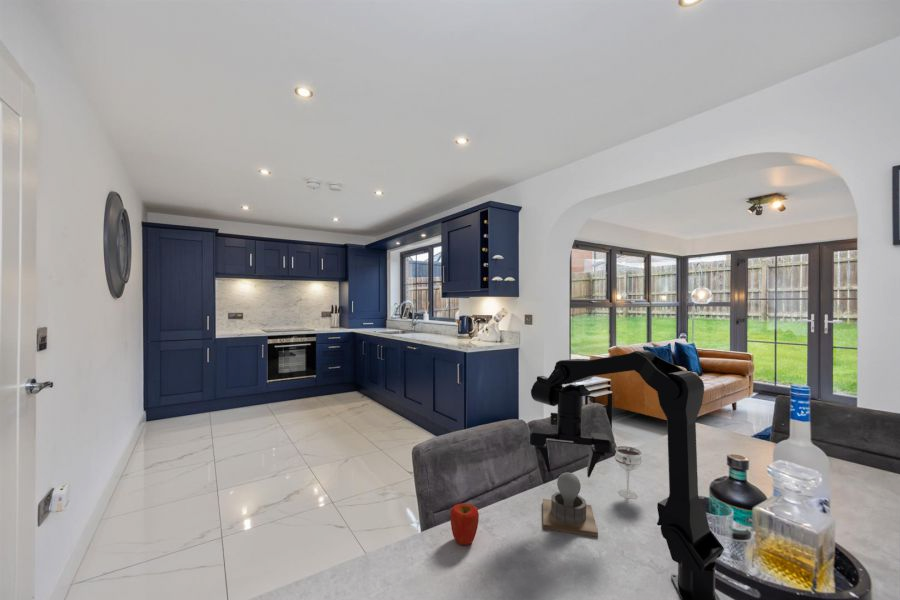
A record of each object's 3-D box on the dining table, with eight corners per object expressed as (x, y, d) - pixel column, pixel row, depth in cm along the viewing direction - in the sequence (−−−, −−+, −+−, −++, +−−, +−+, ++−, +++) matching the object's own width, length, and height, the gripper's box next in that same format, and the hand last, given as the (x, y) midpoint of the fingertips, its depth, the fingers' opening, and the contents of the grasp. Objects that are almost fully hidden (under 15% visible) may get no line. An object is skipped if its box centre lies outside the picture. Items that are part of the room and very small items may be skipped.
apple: (471, 529, 87) (471, 497, 87) (483, 546, 82) (483, 511, 82) (445, 535, 85) (446, 501, 85) (456, 552, 79) (456, 516, 79)
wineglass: (634, 503, 100) (634, 457, 101) (609, 492, 106) (610, 449, 106) (645, 495, 105) (646, 451, 105) (621, 485, 110) (622, 444, 110)
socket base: (598, 537, 85) (598, 517, 85) (543, 528, 88) (543, 509, 88) (590, 509, 97) (591, 491, 97) (542, 502, 100) (543, 485, 100)
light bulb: (581, 522, 89) (582, 479, 89) (557, 519, 90) (558, 477, 90) (578, 509, 95) (579, 469, 95) (556, 507, 96) (556, 467, 96)
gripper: (604, 405, 99) (603, 465, 98) (531, 399, 103) (530, 457, 103) (612, 417, 88) (611, 485, 88) (530, 410, 92) (529, 475, 92)
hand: (568, 474), depth 93 cm, fingers open, 9 cm apart
